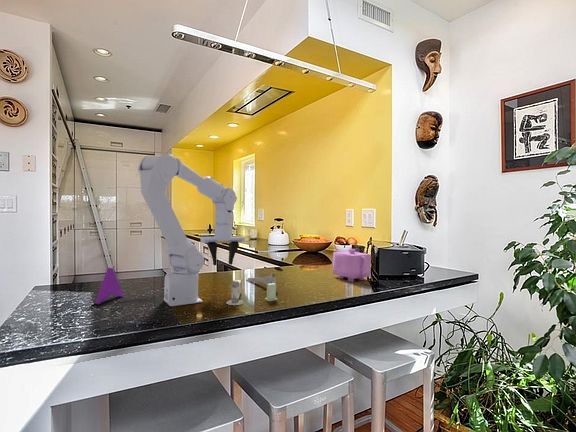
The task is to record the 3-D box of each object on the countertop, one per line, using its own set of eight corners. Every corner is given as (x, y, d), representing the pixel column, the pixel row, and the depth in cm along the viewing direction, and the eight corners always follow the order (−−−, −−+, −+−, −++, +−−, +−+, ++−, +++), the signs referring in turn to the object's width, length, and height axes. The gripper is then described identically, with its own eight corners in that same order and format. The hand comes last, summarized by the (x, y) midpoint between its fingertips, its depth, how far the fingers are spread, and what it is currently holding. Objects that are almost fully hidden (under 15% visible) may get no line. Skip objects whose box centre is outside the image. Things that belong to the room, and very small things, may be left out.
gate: (238, 300, 101) (238, 286, 101) (231, 300, 101) (232, 286, 101) (241, 291, 113) (241, 278, 112) (235, 291, 112) (235, 278, 112)
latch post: (268, 301, 103) (268, 285, 103) (264, 299, 105) (265, 283, 105) (277, 300, 105) (277, 284, 104) (273, 298, 106) (274, 282, 106)
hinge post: (230, 306, 96) (231, 283, 96) (223, 302, 100) (224, 279, 100) (246, 304, 99) (246, 281, 99) (238, 300, 103) (239, 278, 103)
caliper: (276, 292, 116) (276, 274, 116) (273, 292, 115) (274, 274, 115) (248, 280, 133) (248, 265, 132) (245, 281, 132) (246, 265, 132)
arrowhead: (111, 315, 100) (90, 297, 93) (107, 314, 100) (86, 296, 94) (130, 286, 106) (112, 267, 100) (126, 285, 107) (108, 267, 100)
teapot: (374, 281, 136) (375, 250, 136) (356, 284, 131) (357, 252, 130) (341, 273, 153) (342, 245, 153) (324, 274, 148) (325, 246, 147)
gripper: (203, 224, 105) (202, 267, 105) (247, 224, 111) (246, 265, 111) (200, 223, 112) (199, 263, 112) (242, 223, 117) (241, 262, 118)
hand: (222, 264), depth 112 cm, fingers open, 5 cm apart
